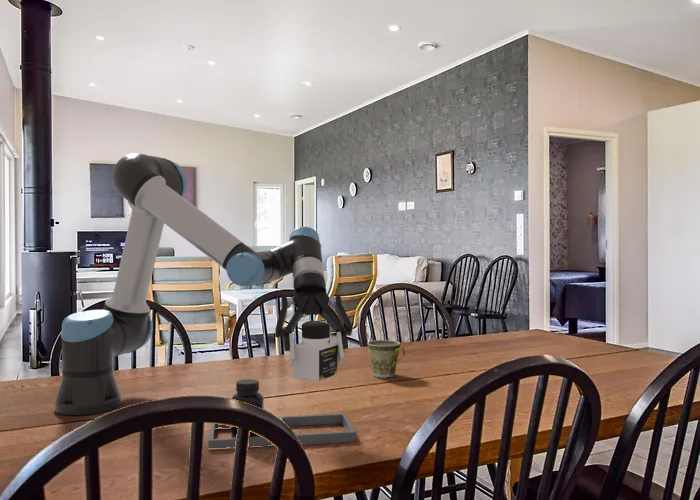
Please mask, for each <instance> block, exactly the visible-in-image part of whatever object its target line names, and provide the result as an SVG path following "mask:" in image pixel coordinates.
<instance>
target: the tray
mask: <svg viewBox="0 0 700 500" xmlns="http://www.w3.org/2000/svg"><path fill="white" fill-rule="evenodd" d="M346 414H347V413H345V412H344V413H327V414H325V413H324V414H310V415H309V414H307V415H288V416H277V417H278V418H280V419H281V420H282V421H284V422H285V423H286V424H287V425H288V426H287V427H298V426H316V425H317V426H318V425H335V424H342V425H343V428H344V430H345V431H332V432H331V431H330V432H314V433H311V432H310V433H309V432H308V433H299V434H298V433H296V434H295V435H296V436H297V437H298V439H299V440H300V442H301V443H302V445H301V446H304V445H320V444H321V445H322V444H337V443H339V444H340V443H354V442H355V443H356V439H357V438H356V433H357V431H355V428H354V427H353V425H352V423H351V421H350V420H349V418H348V417H347V415H346ZM218 427H222V428H229V427H230V426H226V425H218V424H211V423H210V428H209V435H208V440H207V441H208V444H207V445H208V446H207V447H208V448H226V447H231V448H233V447H235V441H236V438H232V437H227V438H226V437H225V438H215V436H214V433H215V434H216V430H215V428H218ZM268 445H270V446H271V445H272V444H271V443H270V442H268V441H267V440H266V439H264V438H262V437H260V436H258V437H249V447H252V446H268ZM272 446H273V445H272ZM249 447H248V448H247V449H250V448H249ZM274 447H276V446H274ZM208 448H207V449H208Z"/></svg>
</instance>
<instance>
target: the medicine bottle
mask: <svg viewBox="0 0 700 500" xmlns="http://www.w3.org/2000/svg"><path fill="white" fill-rule="evenodd" d="M330 328H331V327H330V325H329V324H328V323H327V322H326V321H323V320H309V321H308V320H307V321H304V323H302V324H301V341H302V342H300V343H296V344H294V355H295V361H294V366H292V377H293V378H295V379H298V380H305V381H312V382H318V383H320V382H323V381H326V380H328V379H332V378H334V377H336V376H338V372H339V370H338V366H339V365H338V364H339V359H338V344H337V343H336V342H330V340H331V339H330V336H331V335H330V330H331V329H330Z"/></svg>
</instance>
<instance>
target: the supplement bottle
mask: <svg viewBox="0 0 700 500" xmlns="http://www.w3.org/2000/svg"><path fill="white" fill-rule="evenodd" d="M235 386H236V387H235V391H236V392H235V393H234V394H233V396H232V397H231V399H236V400H239V401H242V402H246V403H249V404H252V405H255V406H257V407H260V408H262V409H264V396H263V395H262V393H260V392H259V391H260V382H259V380H258V379H252V378H247V379H246V378H243V379H239V380H237V381H236V384H235ZM237 429H238V428H236V427H231V429H230V438H236V434H237ZM249 437H258V435H256V434H254V433H252V432H250V436H249Z"/></svg>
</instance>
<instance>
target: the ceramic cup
mask: <svg viewBox="0 0 700 500" xmlns="http://www.w3.org/2000/svg"><path fill="white" fill-rule="evenodd" d="M367 350H368V354H369V358H370V363H371V370H372V375H373V377H374V376H375V377H376V378H379V377H380V378H379V379H388V378H387V377H391V378H393V377H392V376H394V377H395V374H396V369H397V364H398V362H400V361H401V360H402V359H403V358H404V357H405V355H406V351H405V349H404V348H403V347H401V342H399V341H397V340H390V339H376V340H370V341H368V342H367ZM400 351H402V354H403V355H401V357H399V353H400ZM375 377H374V378H375Z"/></svg>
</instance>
